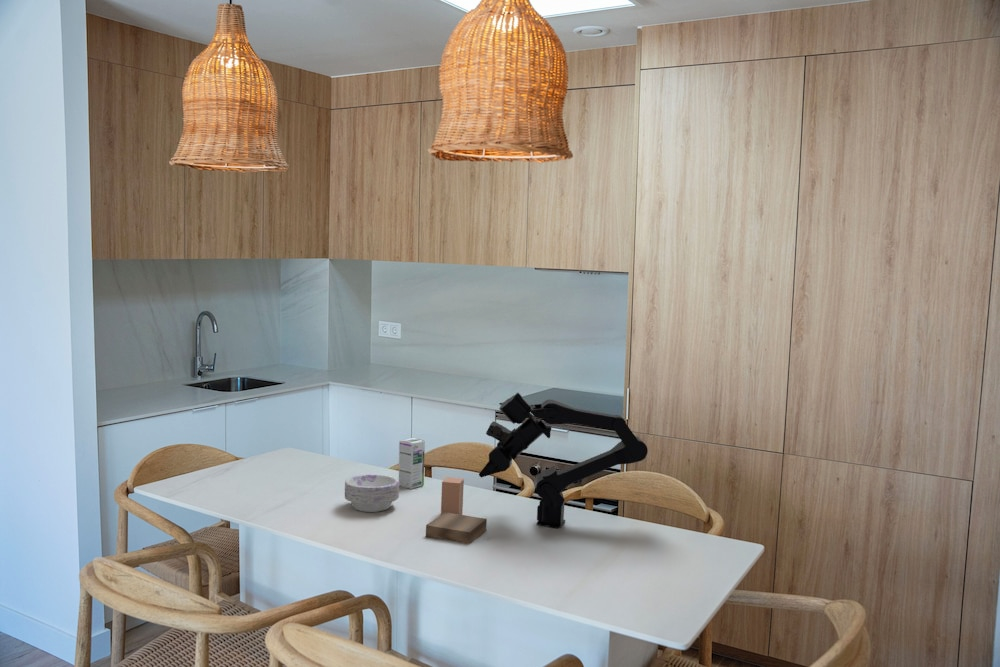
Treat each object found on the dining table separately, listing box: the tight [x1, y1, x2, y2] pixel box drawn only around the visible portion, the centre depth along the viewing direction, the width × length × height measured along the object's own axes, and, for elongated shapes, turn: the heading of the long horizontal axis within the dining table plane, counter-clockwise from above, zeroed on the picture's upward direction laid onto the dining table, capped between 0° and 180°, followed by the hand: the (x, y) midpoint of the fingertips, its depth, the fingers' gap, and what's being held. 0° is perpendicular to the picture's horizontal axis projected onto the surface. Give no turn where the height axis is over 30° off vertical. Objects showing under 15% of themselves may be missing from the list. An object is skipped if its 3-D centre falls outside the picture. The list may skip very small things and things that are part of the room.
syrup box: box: [398, 437, 426, 490], centre depth 253 cm, size 6×6×14 cm
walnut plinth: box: [425, 512, 488, 545], centre depth 212 cm, size 12×12×3 cm
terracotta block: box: [440, 476, 465, 515], centre depth 226 cm, size 5×5×10 cm
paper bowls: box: [344, 474, 400, 513], centre depth 230 cm, size 15×15×8 cm
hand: (483, 471), depth 224 cm, fingers open, 9 cm apart
